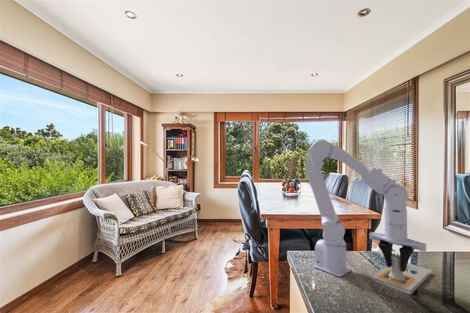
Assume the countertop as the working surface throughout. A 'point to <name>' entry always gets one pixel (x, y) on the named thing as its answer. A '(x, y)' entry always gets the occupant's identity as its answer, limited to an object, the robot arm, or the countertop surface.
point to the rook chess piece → (396, 269)
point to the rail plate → (411, 279)
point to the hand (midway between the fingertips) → (396, 268)
